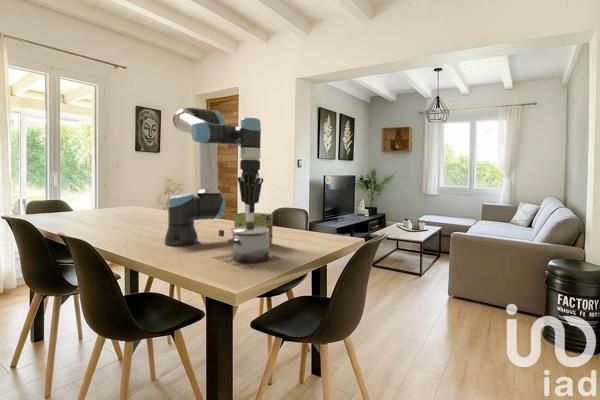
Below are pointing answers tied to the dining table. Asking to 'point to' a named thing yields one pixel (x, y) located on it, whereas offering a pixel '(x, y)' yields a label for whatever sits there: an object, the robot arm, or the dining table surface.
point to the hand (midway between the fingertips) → (249, 220)
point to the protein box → (255, 221)
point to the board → (229, 259)
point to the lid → (249, 229)
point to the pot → (250, 247)
